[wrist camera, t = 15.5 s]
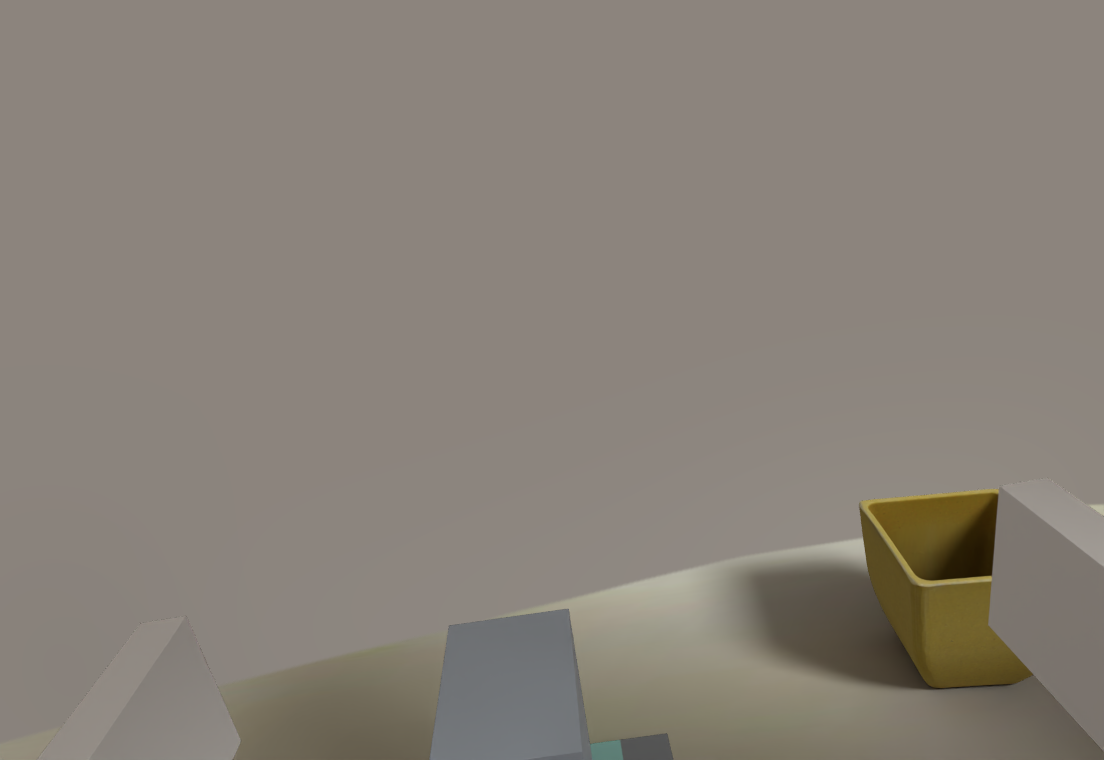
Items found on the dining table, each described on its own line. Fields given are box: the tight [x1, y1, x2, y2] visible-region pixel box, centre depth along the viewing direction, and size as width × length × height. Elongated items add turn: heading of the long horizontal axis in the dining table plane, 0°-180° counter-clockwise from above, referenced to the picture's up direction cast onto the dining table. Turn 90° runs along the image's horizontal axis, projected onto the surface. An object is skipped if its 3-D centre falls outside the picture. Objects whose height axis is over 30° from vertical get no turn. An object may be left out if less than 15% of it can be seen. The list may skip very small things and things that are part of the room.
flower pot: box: [859, 489, 1033, 688], centre depth 41 cm, size 9×9×9 cm
